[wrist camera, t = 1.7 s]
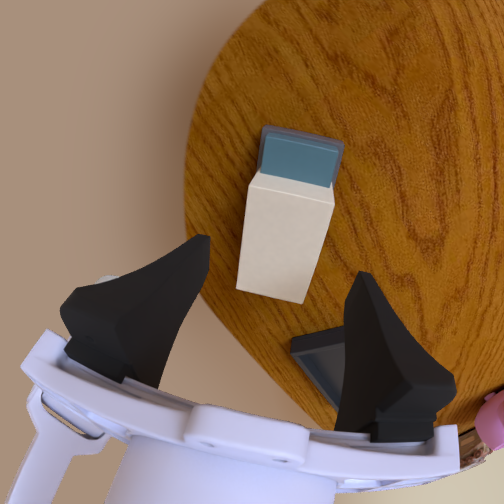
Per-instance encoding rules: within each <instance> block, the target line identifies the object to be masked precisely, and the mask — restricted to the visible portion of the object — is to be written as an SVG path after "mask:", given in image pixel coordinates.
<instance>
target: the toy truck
mask: <svg viewBox="0 0 504 504" xmlns="http://www.w3.org/2000/svg"><path fill="white" fill-rule="evenodd" d="M344 146H345V145H344V143H343V141H340V140H336V139H332V138H328V137H324V136H320V135H316V134H311V133H307V132H302V131H297V130H292V129H287V128H282V127H276V126H271V125H265V126H264V127H263V128H262V134H261V141H260V148H259V156H258V163H257V170H256V175H255V176H254V178H253V179H252V181H251V183H250V184H249V186H248V194H247V202H246V210H245V218H244V226H243V235H242V243H241V251H240V259H239V268H238V276H237V285H236V289H239V290H243V291H247V292H251V293H255V294H260V295H264V296H268V297H273V298H277V299H281V300H286V301H290V302H295V303H299V304H303V301H304V299H305V296H306V293H307V290H308V287H309V284H310V281H311V279H312V276H313V273H314V270H315V267H316V264H317V261H318V258H319V255H320V251H321V248H322V245H323V242H324V239H325V236H326V232H327V229H328V226H329V223H330V219H331V216H332V213H333V209H334V206H335V203H334V194H333V189H334V186H335V182H336V178H337V174H338V170H339V167H340V163H341V159H342V155H343V150H344Z"/></svg>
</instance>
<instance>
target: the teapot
mask: <svg viewBox="0 0 504 504" xmlns="http://www.w3.org/2000/svg"><path fill="white" fill-rule="evenodd" d="M484 399H485V400H486V401H487V402H485V403H484V404H483V405H482V406H481V408H480V410H479V412H478V414H477V416H476V418H475V427H476V430H477V433H478V435H479V437H480V438H481V440H482V441H483V442H484V443H485V444H486V445H487V446H488V447H489V448H490V449H492V450H494V451H495V450H499V449H501V448H504V390H502V391H501V392H499V393H498V394H496V393H495V392H494V393H491V394H489V395H487V396H486V397H485V398H484Z"/></svg>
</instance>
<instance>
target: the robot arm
mask: <svg viewBox="0 0 504 504" xmlns="http://www.w3.org/2000/svg"><path fill="white" fill-rule="evenodd" d="M209 258H210V236H206V235H202V234H197V235H196V236H194V237H193V238H191V239H190V240H188V241H187V242H185V243H184V244H182V245H181V246H179V247H178V248H176V249H174V250H173V251H172V252H170V253H168V254H167V255H165V256H163V257H161V258H160V259H158V260H157V261H155V262H153V263H151V264H149V265H147V266H145V267H143V268H141V269H139V270H136V271H134V272H131V273H129V274H126V275H124V276H121V277H118V278H115V279H112V280H109V281H105V282H102V283H98V284H94V285H88V286H83V287H78V288H76V289H75V290H74V291H73V292H72V294H71V295H70V296H69V297H68V298H67V300H66V301H65V302H64V303H63V304H62V306H61V307H60V315H61V318H62V320H63V322H64V324H65V326H66V328H67V329H68V331H69V333H70V337H69V338H68V339H67V340H66V339H65V338H63V337H62V336H60V335H58V334H57V333H55V332H53V331H51V330H50V329H46V330H45V332H44V333H43V334H42V336H41V337H40V338H39V340H38V341H37V343H36V344H35V345H34V347H33V348H32V350H31V351H30V352H29V354H28V356H27V357H26V358H25V360H24V361H23V363H22V364H21V366H20V367H21V369H22V370H23V371H24V372H25V373H26V375H27V376H28V377H29V378H30V379H31V380H32V381H33V382H34V383H35V384H34V385H33V387H32V391H31V392H30V394H29V396H28V397H27V405H26V407H27V410H28V413H29V415H30V417H31V420H32V422H33V424H34V426H35V428H36V431H37V432H36V434H35V436H34V438H33V440H32V442H31V444H30V446H29V448H28V450H27V452H26V454H25V456H24V458H23V461H22V463H21V465H20V467H19V469H18V471H17V473H16V476H15V478H14V480H13V483H12V485H11V488H10V490H9V492H8V495H7V498H6V500H5V503H4V504H51V503H52V501H53V498H54V496H55V494H56V492H57V489H58V487H59V485H60V483H61V480H62V478H63V476H64V474H65V472H66V470H67V468H68V466H69V463H70V462H71V459H72V457H73V456H76V455H91V454H98V453H100V452H101V451H102V450H103V448H104V446H105V445H106V443H107V442H108V440H109V439H110V438H111V437H114V438H116V439H118V440H120V441H122V442H124V443H126V444H128V448H127V450H126V452H125V454H124V457H123V459H122V461H121V464H120V466H119V468H118V471H117V473H116V476H115V478H114V480H113V482H112V485H111V488H110V490H109V492H108V495H107V497H106V500H105V502H104V504H334V497H335V493H355V492H356V493H357V492H371V491H381V490H390V489H398V488H404V487H412V486H418V485H424V484H428V483H431V482H433V481H436V480H439V479H442V478H445V477H447V476H450V475H452V474H455V473H457V472H459V471H460V458H459V442H458V431H457V425H456V424H452V425H441V426H437V427H434V428H433V422H434V421H436V419H437V417H436V413H437V412H438V411H439V410H441V409H442V408H443V407H445V406H446V405H448V404H449V403H450V402H451V401H452V400H453V399H454V397H455V396H456V393H457V390H456V385H455V380H454V375H453V374H452V373H450V372H449V371H448V370H447V369H445V368H444V367H443V366H442V365H440V364H439V363H438V362H437V361H436V360H435V359H434V358H433V357H432V356H430V355H429V354H428V353H427V352H426V351H425V350H424V349H423V347H422V346H421V345H420V344H419V343H418V342H417V341H416V340H415V339H414V337H413V336H412V335H411V334H410V333H409V331H408V330H407V329H406V327H405V326H404V325H403V323H402V322H401V321H400V319H399V318H398V316H397V315H396V313H395V312H394V310H393V309H392V307H391V306H390V304H389V303H388V301H387V299H386V298H385V296H384V294H383V293H382V291H381V289H380V288H379V286H378V284H377V283H376V281H375V279H374V278H373V276H372V275H371V273H367V272H363V271H359V272H358V274H357V276H356V279H355V281H354V283H353V285H352V287H351V289H350V291H349V294H348V296H347V298H346V300H345V307H344V341H345V369H344V379H343V387H342V393H341V400H340V405H339V410H338V415H337V420H336V424H335V428H334V431H329V430H320V429H312V428H305V427H304V426H302V425H301V424H296V423H293V422H289V421H284V420H278V419H273V418H268V417H263V416H259V415H254V414H250V413H245V412H241V411H237V410H233V409H229V408H225V407H222V406H217V405H212V404H198V403H195V402H192V401H189V400H186V399H183V398H180V397H177V396H174V395H172V394H169V393H166V392H163V391H161V390H158V387H159V384H160V380H161V377H162V374H163V370H164V368H165V365H166V362H167V359H168V356H169V354H170V351H171V348H172V346H173V343H174V341H175V338H176V336H177V333H178V331H179V328H180V326H181V324H182V322H183V320H184V318H185V316H186V315H187V313H188V311H189V309H190V307H191V306H192V303H193V302H194V300H195V299H196V297H197V295H198V293H199V291H200V290H201V288H202V286H203V283H204V281H205V279H206V276H207V274H208V271H209ZM41 402H42V403H43V404H45V405H46V406H47V407H49V408H50V409H51V410H52V411H54V412H55V413H56V414H58V415H59V416H61V417H62V418H63V419H65V420H66V421H68V422H69V423H70V424H72V425H73V426H75V427H76V428H78V429H79V430H81V431H82V432H84V433H86V434H80V433H77V432H75V431H74V430H73V429H71V428H70V427H68V426H66V425H65V424H64V423H62V422H61V421H59V420H58V419H57V418H55V417H54V416H53V415H51V414H50V413H49V412H47V411H46V410H45V409H44V407H43V405H42V403H41Z"/></svg>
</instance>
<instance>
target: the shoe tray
mask: <svg viewBox="0 0 504 504" xmlns="http://www.w3.org/2000/svg"><path fill="white" fill-rule="evenodd" d="M290 354H291V356H292V357H293V358H294V359H295V361H296V362H297V363H298V365H299V366H300V367H301V368H302V370H303V371H304V372H305V373H306V375H307V376H308V377H309V378H310V380H311V381H312V382H313V383H314V385H315V386H316V387H317V388H318V390H319V391H320V392H321V393H322V394H323V396H324V397H325V398H326V399H327V401H328V402H329V403H330V404H331V405H332V407H333V408H334V409H335V410H336V412H337V413H338V410H339V405H340V400H341V393H342V387H343V379H344V369H345V341H344V326H341V327H337V328H333V329H329V330H325V331H320V332H316V333H312V334H308V335H303V336H299V337H294V338H292V344H291V351H290Z"/></svg>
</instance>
